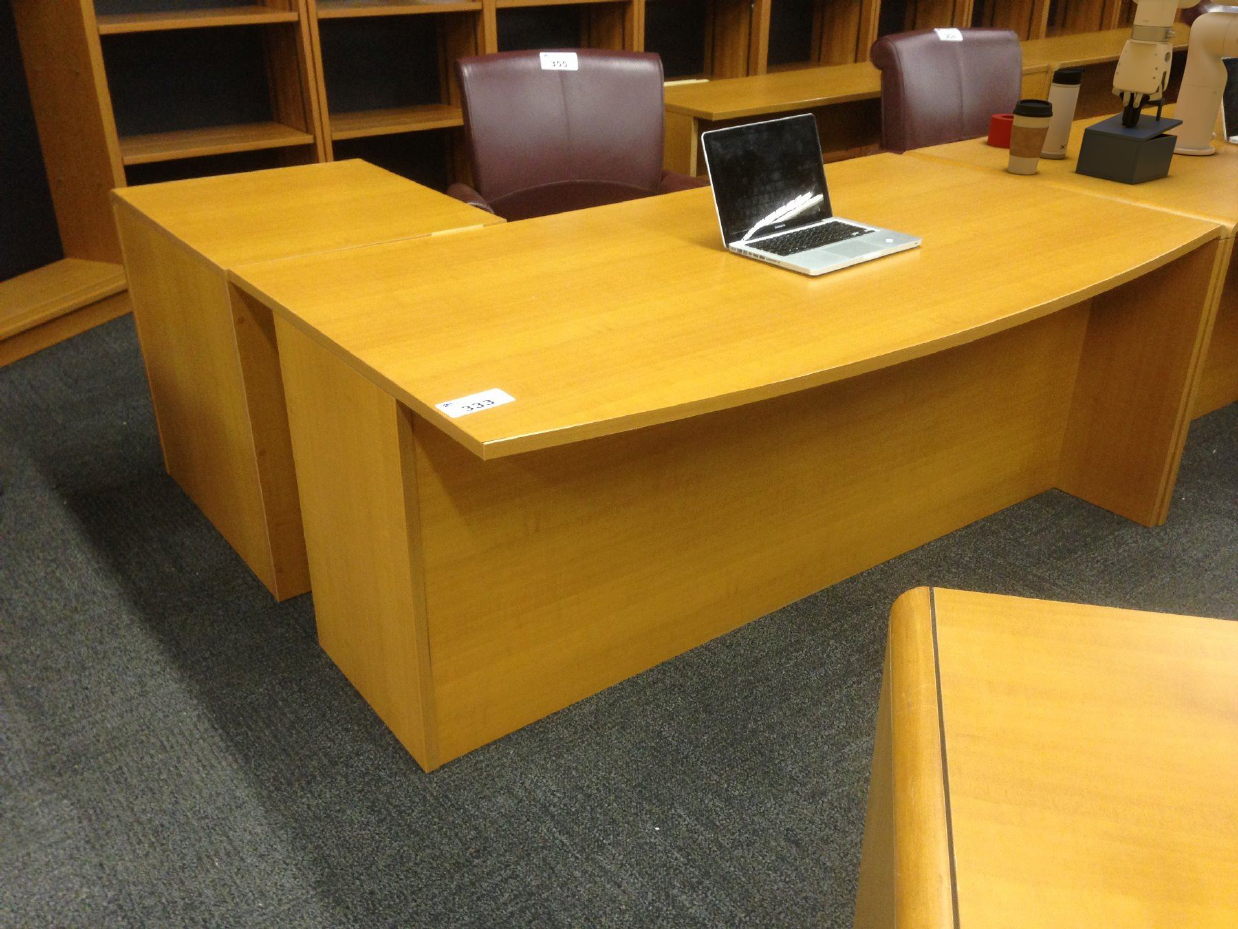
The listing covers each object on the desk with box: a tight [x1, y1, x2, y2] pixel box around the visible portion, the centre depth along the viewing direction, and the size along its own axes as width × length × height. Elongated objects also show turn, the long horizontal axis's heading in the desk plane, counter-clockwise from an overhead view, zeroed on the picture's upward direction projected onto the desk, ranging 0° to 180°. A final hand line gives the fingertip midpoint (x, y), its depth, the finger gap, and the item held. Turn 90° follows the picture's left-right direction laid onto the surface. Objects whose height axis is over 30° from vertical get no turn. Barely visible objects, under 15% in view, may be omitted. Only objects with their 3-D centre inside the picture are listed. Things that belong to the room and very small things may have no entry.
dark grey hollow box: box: [1075, 132, 1178, 185], centre depth 232 cm, size 15×14×9 cm
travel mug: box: [1040, 67, 1086, 160], centre depth 246 cm, size 6×7×20 cm
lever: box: [986, 113, 1014, 149], centre depth 259 cm, size 18×9×7 cm, turn 59°
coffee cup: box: [1007, 98, 1053, 176], centre depth 231 cm, size 8×8×15 cm
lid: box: [1083, 97, 1183, 142], centre depth 228 cm, size 15×14×6 cm
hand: (1128, 125), depth 228 cm, fingers closed
